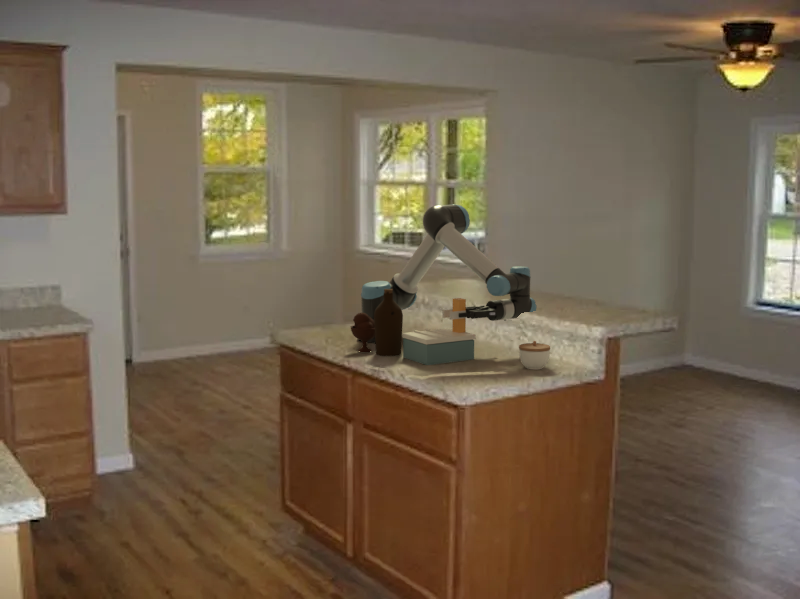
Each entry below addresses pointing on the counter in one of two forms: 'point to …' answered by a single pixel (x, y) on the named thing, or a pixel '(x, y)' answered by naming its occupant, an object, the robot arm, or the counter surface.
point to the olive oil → (388, 326)
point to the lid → (446, 334)
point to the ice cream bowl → (363, 330)
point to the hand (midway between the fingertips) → (446, 314)
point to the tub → (438, 351)
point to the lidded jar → (534, 355)
